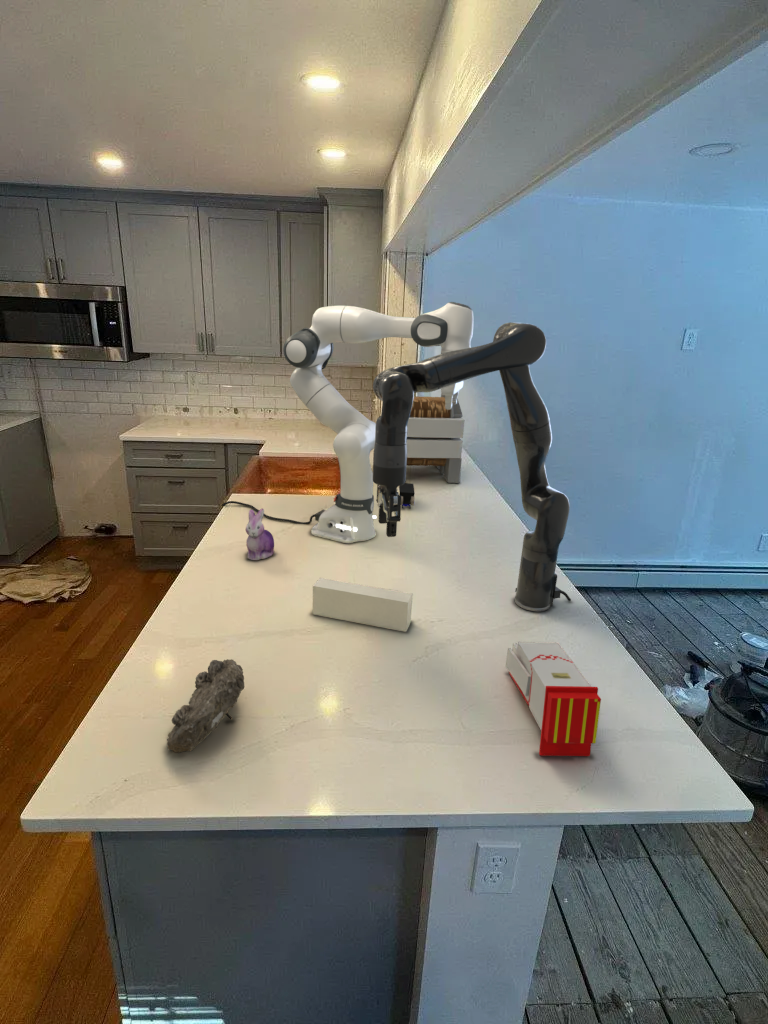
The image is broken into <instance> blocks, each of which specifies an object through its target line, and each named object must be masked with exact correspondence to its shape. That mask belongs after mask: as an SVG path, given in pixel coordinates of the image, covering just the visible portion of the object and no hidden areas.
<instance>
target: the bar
mask: <svg viewBox="0 0 768 1024" xmlns="http://www.w3.org/2000/svg"><path fill="white" fill-rule="evenodd" d="M413 595H414V594H413V593H412V592H406V591H400V590H394V589H390V588H389V589H388V588H383V587H378V586H377V587H376V586H371V585H366V584H360V583H353V582H347V581H343V580H337V579H336V580H335V579H330V578H324V577H319V578H318V579H317V580H316V581H315V583H314V584H313V585H312V615H315V616H320V617H325V618H330V619H334V620H335V619H336V620H341V621H346V622H351V623H357V624H362V625H367V626H371V627H378V628H382V629H389V630H393V631H399V632H404V633H407V631H408V629H409V627H410V625H411V622H412V609H413Z"/></svg>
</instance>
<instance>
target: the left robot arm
mask: <svg viewBox="0 0 768 1024" xmlns="http://www.w3.org/2000/svg"><path fill="white" fill-rule="evenodd" d="M473 334H474V311H473V309H472V308H471V306H469V305H467V304H464V303H460V302H456V301H449V302H447V303H446V304H445V305H443V306H441V307H439V308H437V309H435V310H432V311H429V312H428V311H427V312H425V313H422V314H420V315H418V316H416V317H410V316H396V315H395V316H394V315H390V314H389V315H388V314H385V313H381V312H377V311H374V310H371V309H368V308H364V307H360V306H354V305H329V306H328V305H327V306H322V307H319V308H317V309H316V310H315V311H314V313H313V314H312V318H311V326H310V327H303V328H301V329H299V330H298V331H296V332H295V333H293V334H291V335H290V336H289V337H288V338H286V340H285V342H284V344H283V348H282V349H283V356H284V358H285V361H287V362H288V363H289V364H290V365H291V366H293V367H295V369H294V370H293V371H292V373H291V375H290V378H289V383H290V386H291V387H292V389H293V391H294V393H295V395H296V396H297V397H298V398H299V400H300V401H301V403H302V404H304V406H305V407H306V408H307V409H308V410H309V411H310V413H311V414H312V415H313V416H314V417H315V418H316V419H317V421H318V422H319V423H320V424H321V425H323V426H325V427H327V428H328V429H330V430H331V431H333V432H334V433H336V436H335V438H334V439H333V443H332V446H333V448H332V449H333V451H334V454H335V455H336V457H337V462H338V466H339V473H340V490H339V491H338V492H337V494H336V495H335V496H334V497H333V502H334V504H333V505H331V506H329V507H328V508H326V509H322V510H320V511H317V512H316V513H315V514H312V515H310V517H309V520H308V521H305V522H303V521H302V522H301V521H297V520H294V519H290V518H289V519H288V518H281V517H274V516H270V515H268V514H266V513H264V515H263V518H266V519H269V520H273V521H277V522H286V523H292V524H296V525H297V524H298V525H310V524H311V523H312V522H313V519H314V521H316V522H317V523H315V524H314V525H313V526H312V528H311V530H310V533H311V536H315V537H319V538H323V539H326V540H330V541H336V542H339V543H343V544H352V543H357V542H365V541H368V540H372V539H373V538H375V537H376V535H377V532H376V528H375V523H374V519H377V515H374V513H373V512H374V509H375V496H374V482H373V469H372V466H371V465H372V464H371V460H370V458H371V457H370V455H371V452H372V451H374V446H375V428H376V421H373V420H371V419H369V418H367V417H366V416H365V415H364V414H363V413H362V412H360V411H359V410H358V409H357V408H355V406H353V405H352V404H350V403H349V402H348V401H347V400H346V399H345V397H344V396H342V394H341V393H340V392H339V391H338V389H336V388H335V386H334V385H333V384H332V383H331V382H330V380H329V379H328V378H327V377H326V376H325V375H324V373H323V371H322V370H324V369H326V368H327V365H328V363H329V360H331V358H332V356H333V353H334V349H335V347H334V343H340V344H364V343H368V342H369V343H370V342H374V341H378V340H381V339H387V338H400V339H412V340H413V342H414V343H415V344H416V345H419V347H422V348H423V347H424V348H432V347H441V348H440V354H443V353H446V352H450V351H455V350H460V349H466V348H472V345H471V342H472V338H473V337H474V336H473ZM463 387H464V381H461V382H458V383H455V384H452V385H450V386H447V387H444V388H441V389H440V393H441V394H442V395H445V403H446V404H445V409H448V410H450V409H451V408H452V405H456V404H457V398H458V399H459V393H460V390H462V389H463ZM441 394H440V395H441ZM230 504H234V505H235V504H236V505H240V506H243V507H247V508H248V507H249V508H250V509H252V510H253V511H254V512H257V513H258V512H259V510H260V509H259V508H256V507H255V506H254V505H252V504H249V503H244V502H240V501H236V500H229V501H225V502H223V504H222V505H221V506H222V507H225V506H226V505H230Z"/></svg>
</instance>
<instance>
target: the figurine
mask: <svg viewBox="0 0 768 1024" xmlns="http://www.w3.org/2000/svg"><path fill="white" fill-rule="evenodd" d="M258 510H259V512H257V513H255V510H254V509H252V508H250V510H248V522H247V524H246V526H245V533H246V534H247V538H246V542H245V543H246V548H247V550H248V551H247V559H248V560H252V561H259V560H265V559H267V558H270V557H272V556H273V555H274V552H275V551H274V550H275V540H274V536H273V534H272V533H271V532H270V531H269V530H268V529H265V526H264V523H263V519H264V516H263V515H264V514H265V509H264V508H260V509H258Z"/></svg>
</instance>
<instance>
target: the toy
mask: <svg viewBox="0 0 768 1024" xmlns="http://www.w3.org/2000/svg"><path fill="white" fill-rule="evenodd" d="M511 646H512V647H508V648H507V653H506V658H505V659H506V660H505V668H506V669H507V671H508V675H509V676H510V677H511V679H512V681H513V682H514V684H515V686H516V688H517V689H518V691H519V693H520V694H521V696H522V698H523V700H524V702H525V703H526V705H527V706H528V708H529V710H530V712H531V715H532V716H533V718H534V720H535V722H536V723H537V724H536V725H537V726H538V727H539V730H540V731H541V733H540V739H539V740H540V741H539V749H538V751H539V752H538V754H539V756H543V757H548V756H550V757H551V756H552V757H553V756H554V757H568V756H569V757H591V751H592V744H596V743H597V734H598V726H599V717H600V710H601V702H602V698H601V697H600V696H599V694H598V693H599V688H598V686H592V684H590V682H589V681H588V680H587V678H586V677H585V676H584V675H583V673H582V672H581V671H580V669H579V668H578V667H577V665H576V664H575V663H574V661H573V660H572V659H571V658H570V656H569V655H568V654H567V652H566V651H565V649H564V647H562V645H561V644H560V643H559V642H553V641H551V642H549V641H548V642H547V641H546V642H545V641H517V642H512V645H511Z"/></svg>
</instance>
